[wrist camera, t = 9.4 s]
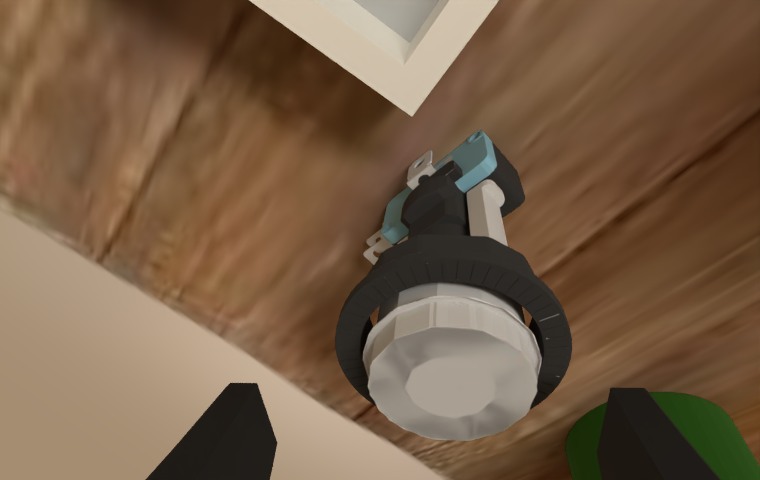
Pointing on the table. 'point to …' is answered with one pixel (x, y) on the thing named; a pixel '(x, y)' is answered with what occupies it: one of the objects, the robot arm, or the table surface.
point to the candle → (694, 420)
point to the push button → (453, 305)
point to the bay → (386, 38)
